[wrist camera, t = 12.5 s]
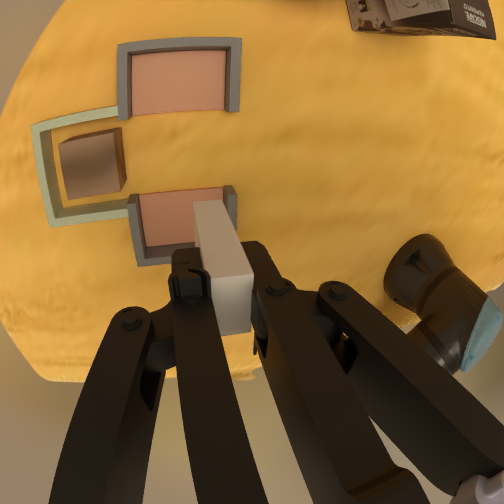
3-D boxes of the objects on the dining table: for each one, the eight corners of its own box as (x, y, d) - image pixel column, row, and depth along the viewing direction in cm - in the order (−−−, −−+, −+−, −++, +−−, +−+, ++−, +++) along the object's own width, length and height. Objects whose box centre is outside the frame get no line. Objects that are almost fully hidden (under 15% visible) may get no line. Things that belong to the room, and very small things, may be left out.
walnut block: (126, 178, 30) (120, 191, 26) (79, 186, 28) (68, 200, 25) (121, 127, 27) (113, 132, 23) (72, 136, 25) (58, 144, 22)
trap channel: (231, 244, 38) (236, 256, 35) (70, 261, 33) (64, 274, 30) (235, 42, 24) (242, 37, 22) (40, 68, 19) (28, 67, 17)
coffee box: (351, 32, 26) (452, 24, 13) (342, -10, 22) (436, -38, 9) (403, 37, 27) (498, 42, 14) (395, -2, 23) (487, -10, 10)
